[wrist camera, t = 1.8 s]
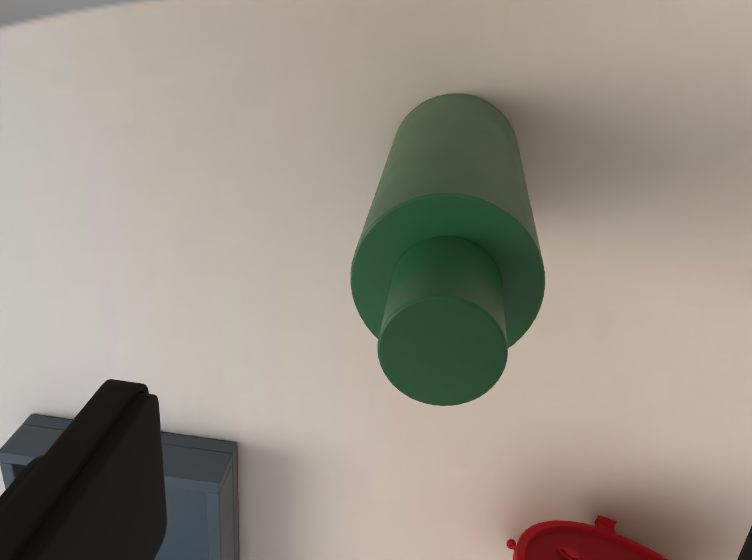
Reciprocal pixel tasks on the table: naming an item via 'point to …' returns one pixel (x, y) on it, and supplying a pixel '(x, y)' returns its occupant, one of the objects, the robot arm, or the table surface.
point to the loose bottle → (449, 252)
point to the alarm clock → (578, 543)
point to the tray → (182, 487)
